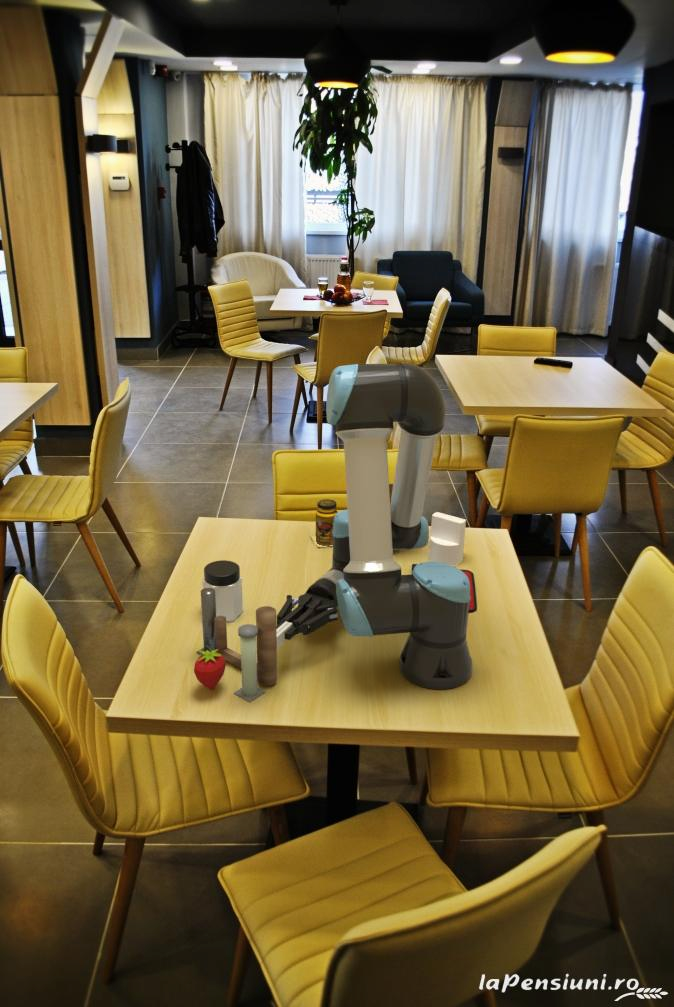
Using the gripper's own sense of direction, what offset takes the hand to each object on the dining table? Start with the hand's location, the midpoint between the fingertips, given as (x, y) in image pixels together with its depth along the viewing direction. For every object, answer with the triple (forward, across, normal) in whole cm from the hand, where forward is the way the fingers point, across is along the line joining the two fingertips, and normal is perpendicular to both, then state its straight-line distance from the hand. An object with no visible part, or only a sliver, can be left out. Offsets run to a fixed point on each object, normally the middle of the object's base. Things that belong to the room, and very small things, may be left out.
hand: (272, 642), depth 172 cm
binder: (-52, -17, -9) cm, 56 cm away
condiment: (-63, +22, -9) cm, 67 cm away
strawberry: (+10, +9, -9) cm, 16 cm away
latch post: (+7, +1, -8) cm, 11 cm away
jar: (-16, +24, -9) cm, 30 cm away
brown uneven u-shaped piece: (+1, +6, -8) cm, 10 cm away
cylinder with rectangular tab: (-69, -11, -9) cm, 70 cm away
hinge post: (-1, +17, -8) cm, 19 cm away
